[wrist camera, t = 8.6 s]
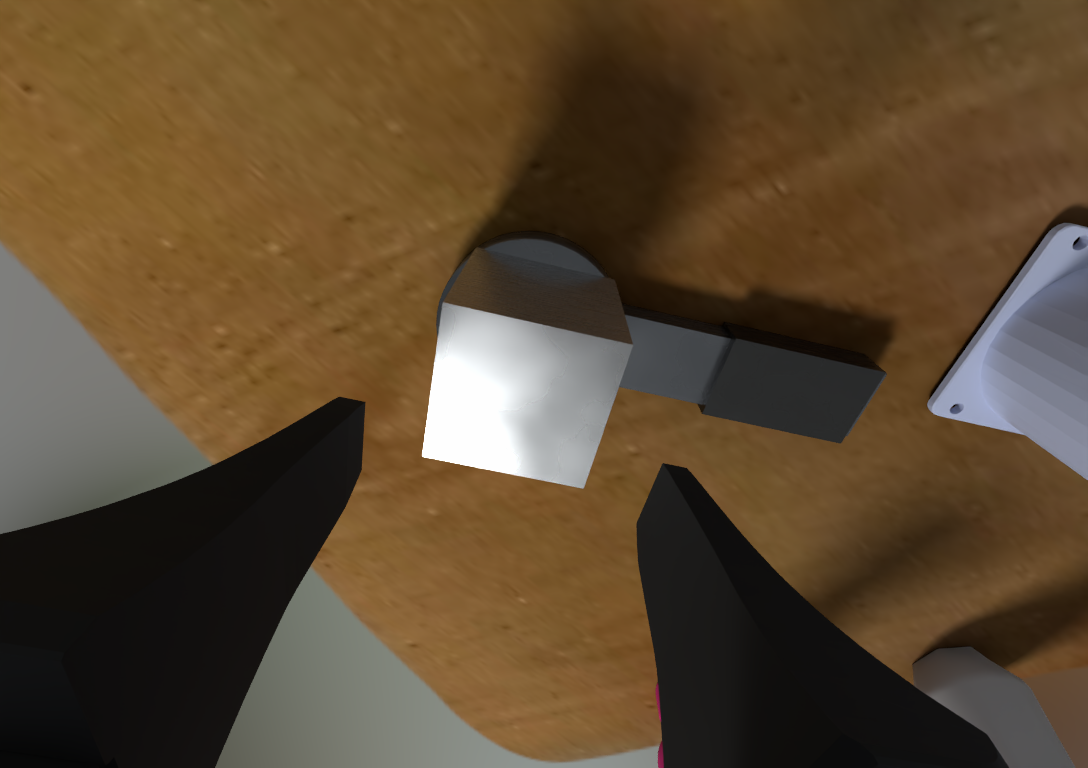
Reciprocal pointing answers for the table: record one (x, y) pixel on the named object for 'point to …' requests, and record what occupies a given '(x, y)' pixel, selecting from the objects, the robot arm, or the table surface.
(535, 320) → the metal cube
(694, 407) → the table surface
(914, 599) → the table surface
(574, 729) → the table surface
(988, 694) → the salt shaker
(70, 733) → the robot arm
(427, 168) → the table surface
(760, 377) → the ratchet
